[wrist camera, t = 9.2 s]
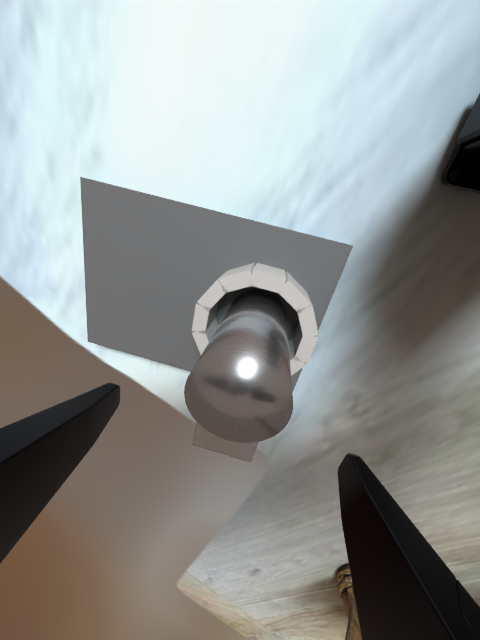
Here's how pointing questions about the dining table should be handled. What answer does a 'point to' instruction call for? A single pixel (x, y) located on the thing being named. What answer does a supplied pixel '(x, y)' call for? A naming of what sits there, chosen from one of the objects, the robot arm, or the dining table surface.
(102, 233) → the duct plate
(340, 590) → the wooden mug
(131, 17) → the dining table surface
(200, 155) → the dining table surface
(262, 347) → the brushed steel cylinder
